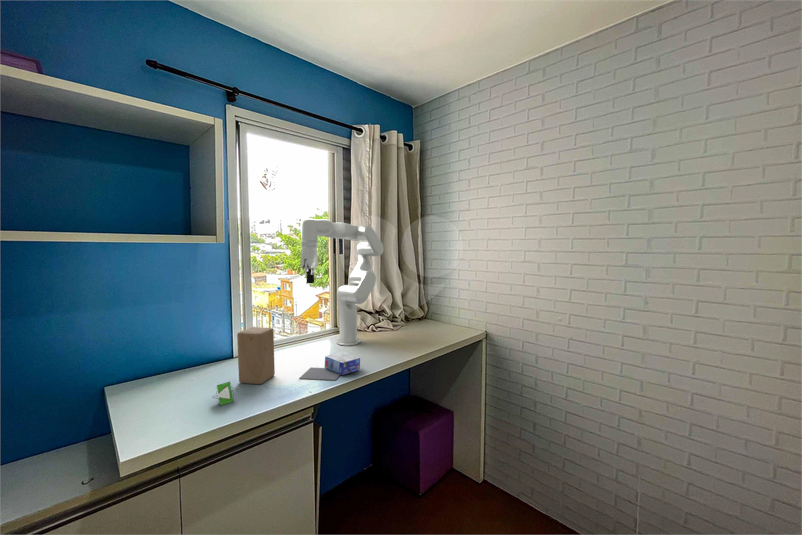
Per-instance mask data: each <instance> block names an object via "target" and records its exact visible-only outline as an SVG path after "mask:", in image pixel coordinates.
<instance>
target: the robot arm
mask: <svg viewBox="0 0 802 535" xmlns="http://www.w3.org/2000/svg"><path fill="white" fill-rule="evenodd" d="M300 232H301V233H300V238H301V240H300V241H301V252H300V268H301V269H302V270H304V272H305V274H306V284H314V283H315V271H316V268H318V263H319V262H318V260H319V259H318V246H319V243H318V240H319V239H318V238H319V237H324V238H331V239H336V240H337V239H338V240H339V239H340V240H348V241H354V242H359V243H358V244H357V245H356V254H357V263H356V265H355V266H354V268H353V270H352V271H351V273H350V275H349V276H348V283H349V284H343V285H340V286H339V287H338V288H337V291H336V299H337V301H338V302H337V303H338V314H339V315H338V316H339V317H338V320H339V321H338V322H339V324H338V326H339V328H338V329H339V339H337V340H336V344H337V345H338V346H339V345H340V346H348V347H349V346H355V345H358V344H360V343H361V340H360V338H358V319H357V318H358V312H357V310H358V309H357V307H356V306H357V305H362V304H364V303H365V302H366V301H367V300H368V298H369V296H370V294H371V293H372V291H373V290H374V287H375V286H376V282H377V276H376V273H375V272H373V271H372V265H373V264H372V261H371V259H370V257H379V256H381V255H383V253H384V244H383V243H382V241H381V238H380V237H379V236H378V234H377V232H376V231H375V229H374V228H372V226H370V225H355V224H351V223H345V222H333V221H331V220H329V219H325V218H322V219H320V218H319V219H315V218H302V219H301V221H300ZM356 304H357V305H356Z"/></svg>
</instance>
